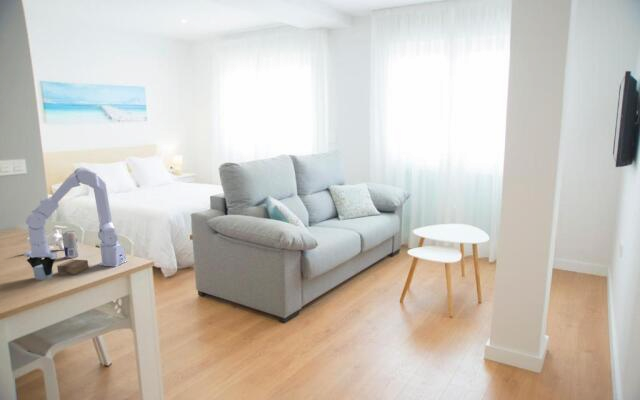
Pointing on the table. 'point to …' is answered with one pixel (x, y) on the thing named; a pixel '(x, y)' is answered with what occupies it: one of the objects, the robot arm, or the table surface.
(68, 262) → the walnut block
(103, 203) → the robot arm
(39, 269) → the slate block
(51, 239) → the person figurine
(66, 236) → the energy drink
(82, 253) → the table surface
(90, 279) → the table surface
